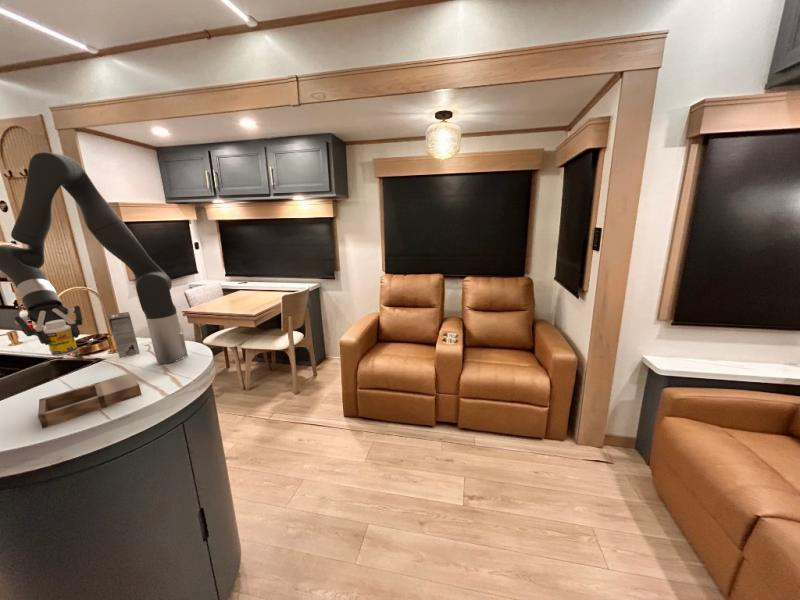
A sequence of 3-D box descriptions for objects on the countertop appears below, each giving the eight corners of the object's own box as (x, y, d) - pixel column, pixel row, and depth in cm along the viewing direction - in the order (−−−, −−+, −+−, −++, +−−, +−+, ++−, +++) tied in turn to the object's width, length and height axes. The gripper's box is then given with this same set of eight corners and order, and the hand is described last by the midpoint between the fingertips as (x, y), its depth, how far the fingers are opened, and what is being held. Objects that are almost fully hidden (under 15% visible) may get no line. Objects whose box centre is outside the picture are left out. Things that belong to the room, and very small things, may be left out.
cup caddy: (134, 382, 103) (132, 372, 102) (141, 395, 94) (139, 384, 94) (43, 410, 88) (39, 399, 88) (42, 428, 80) (37, 416, 79)
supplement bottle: (49, 358, 92) (37, 325, 89) (55, 352, 97) (44, 321, 94) (75, 353, 95) (64, 321, 92) (80, 348, 99) (70, 317, 97)
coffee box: (118, 352, 129) (107, 314, 125) (138, 347, 133) (128, 311, 129) (119, 358, 123) (108, 319, 119) (140, 353, 127) (130, 315, 123)
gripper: (1, 294, 89) (24, 341, 86) (71, 284, 101) (94, 325, 97) (5, 310, 93) (27, 355, 90) (72, 299, 105) (94, 338, 101)
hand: (62, 339), depth 94 cm, fingers closed on supplement bottle, 5 cm apart
